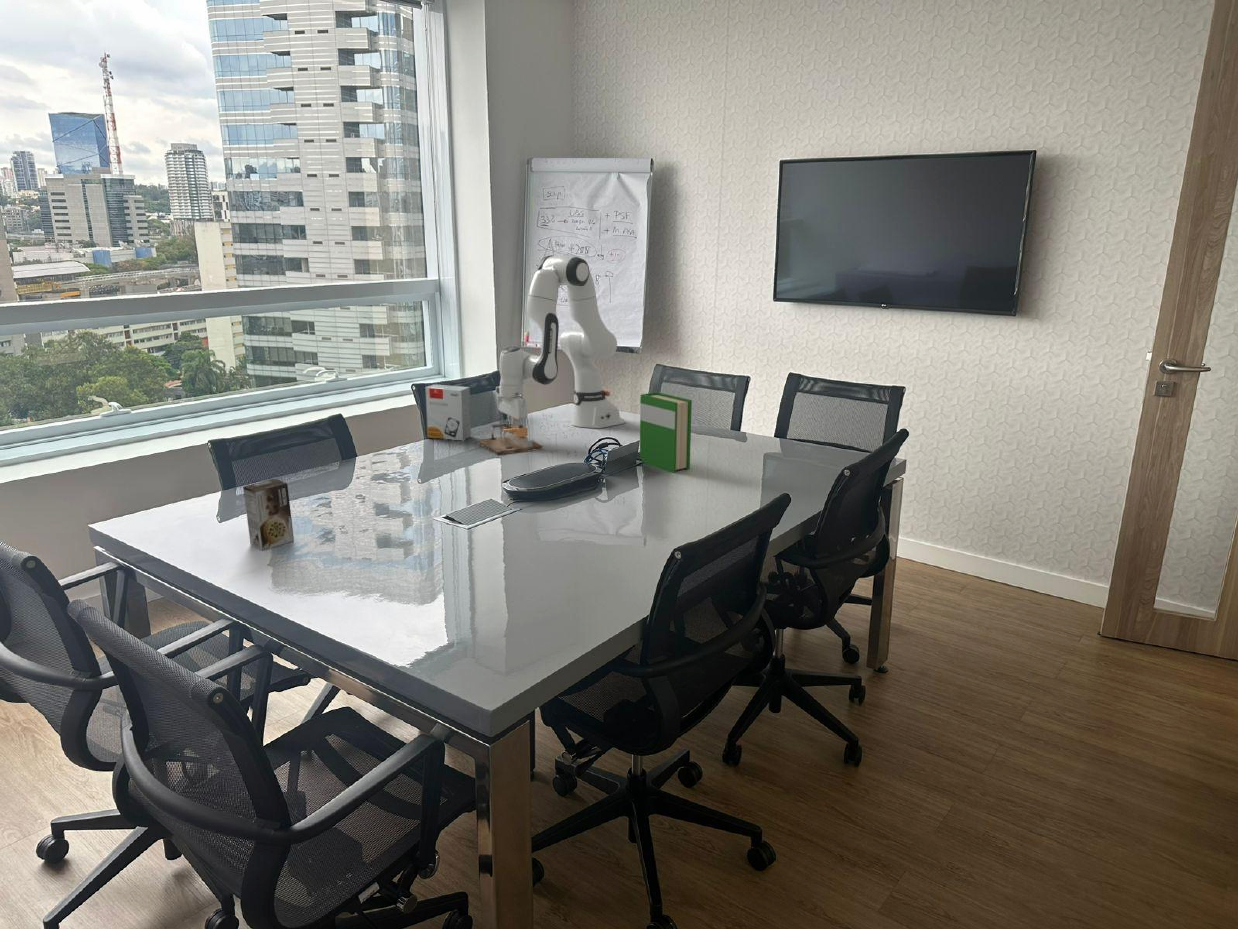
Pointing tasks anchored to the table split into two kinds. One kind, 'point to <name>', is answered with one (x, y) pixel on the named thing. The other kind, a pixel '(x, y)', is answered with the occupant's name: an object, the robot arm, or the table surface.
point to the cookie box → (268, 514)
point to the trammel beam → (512, 435)
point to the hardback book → (665, 431)
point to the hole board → (505, 445)
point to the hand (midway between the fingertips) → (512, 426)
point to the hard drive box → (448, 412)
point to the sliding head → (516, 432)
